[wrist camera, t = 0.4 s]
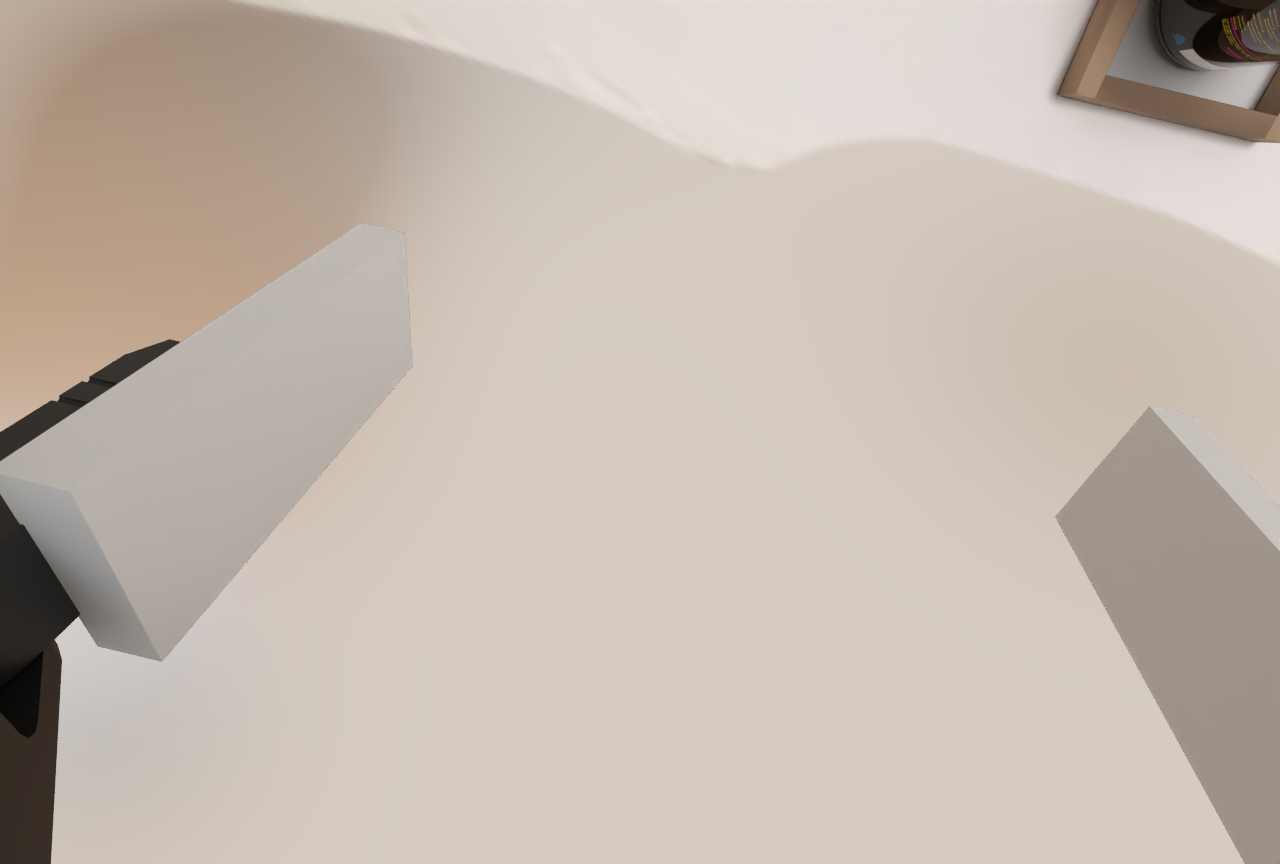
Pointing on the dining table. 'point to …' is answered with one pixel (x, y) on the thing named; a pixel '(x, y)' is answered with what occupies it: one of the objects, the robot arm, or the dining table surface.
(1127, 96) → the walnut collar
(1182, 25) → the supplement container
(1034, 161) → the dining table surface
